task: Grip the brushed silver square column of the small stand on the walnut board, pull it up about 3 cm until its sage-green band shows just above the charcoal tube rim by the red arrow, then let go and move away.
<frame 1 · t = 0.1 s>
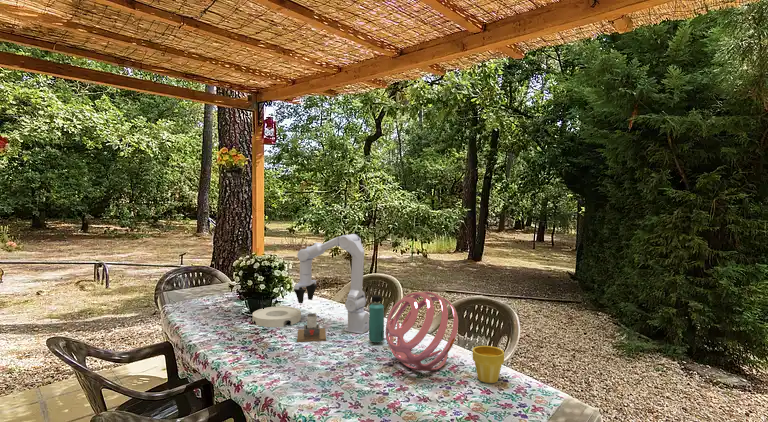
hand: (305, 301, 203), 10 cm above the table, tool pointing down, fingers open, 7 cm apart
ashtray: (276, 321, 206), on the table
silver column: (311, 324, 182), point 5 cm above the table, slide at 0.0 cm
stand base: (311, 336, 183), on the table
beverage bottle: (376, 343, 175), on the table
spiral basket: (418, 366, 152), on the table
plant pot: (487, 379, 141), on the table
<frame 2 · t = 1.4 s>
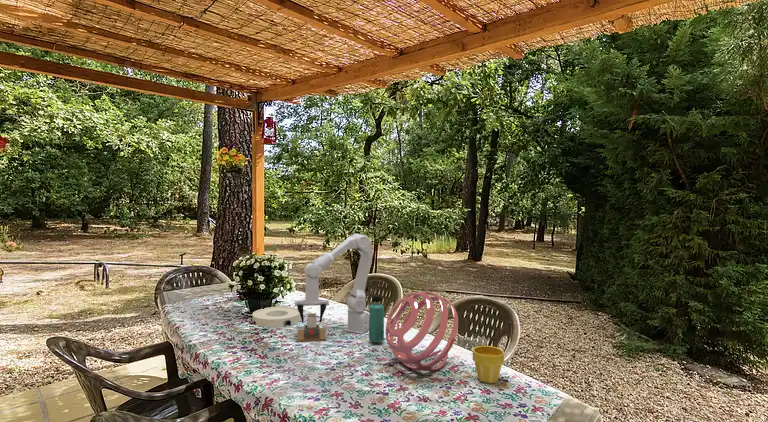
hand: (311, 321, 182), 6 cm above the table, tool pointing down, fingers open, 7 cm apart
nothing on the table moved.
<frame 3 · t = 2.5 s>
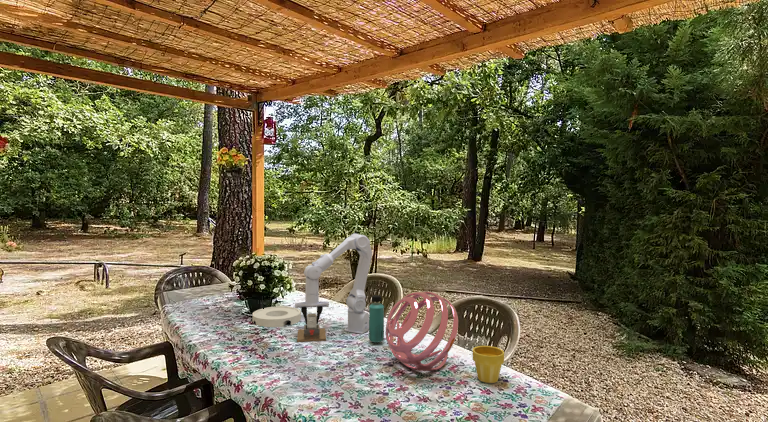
hand: (311, 323, 182), 5 cm above the table, tool pointing down, fingers closed on silver column, 4 cm apart
silver column: (311, 324, 182), point 5 cm above the table, slide at 0.0 cm, touching gripper
everything else where it was.
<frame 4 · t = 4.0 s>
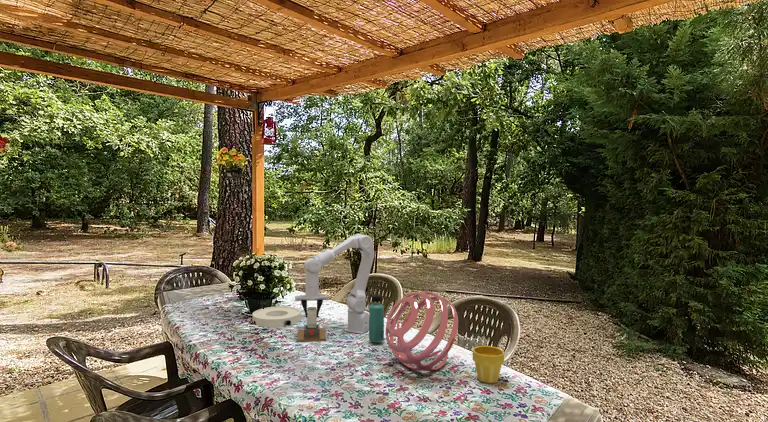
hand: (311, 317, 182), 8 cm above the table, tool pointing down, fingers closed on silver column, 4 cm apart
silver column: (311, 317, 182), point 8 cm above the table, slide at 3.0 cm, touching gripper
everything else where it was.
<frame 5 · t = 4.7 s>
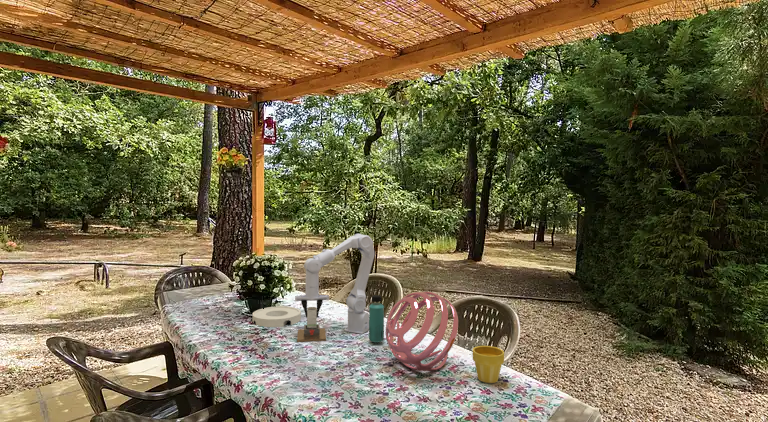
hand: (311, 317, 182), 8 cm above the table, tool pointing down, fingers closed on silver column, 4 cm apart
silver column: (311, 317, 182), point 8 cm above the table, slide at 3.0 cm, touching gripper
everything else where it was.
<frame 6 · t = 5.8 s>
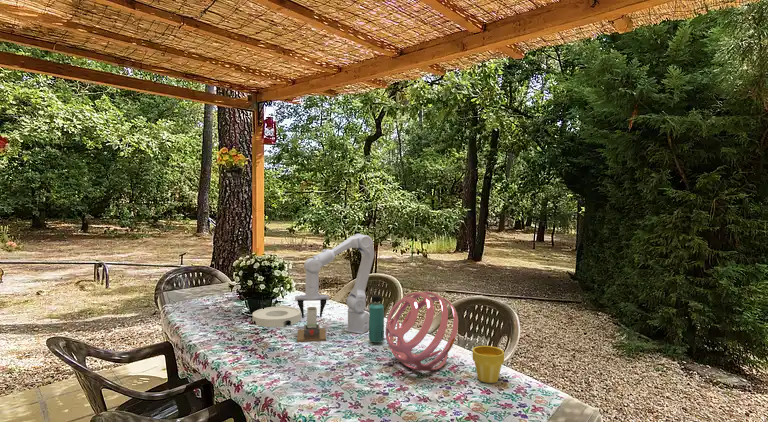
hand: (311, 317, 182), 8 cm above the table, tool pointing down, fingers open, 7 cm apart
silver column: (311, 317, 182), point 8 cm above the table, slide at 3.0 cm
everything else where it was.
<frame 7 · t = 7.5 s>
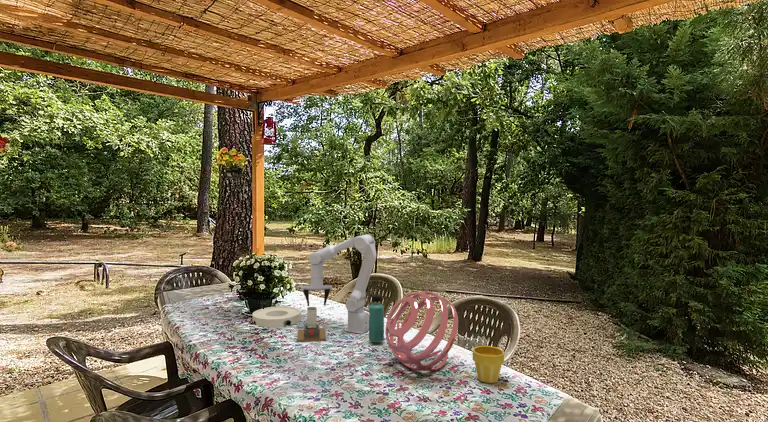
hand: (316, 305, 198), 9 cm above the table, tool pointing down, fingers open, 7 cm apart
nothing on the table moved.
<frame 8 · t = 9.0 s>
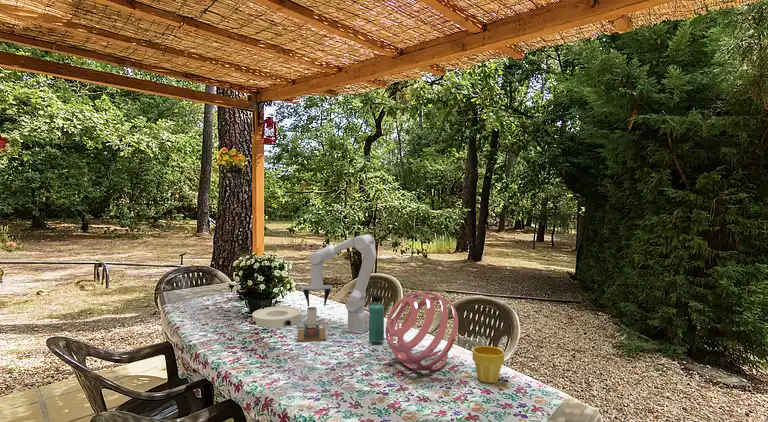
hand: (316, 305, 198), 9 cm above the table, tool pointing down, fingers open, 7 cm apart
nothing on the table moved.
at the end: silver column slide at 3.0 cm; the gripper is holding nothing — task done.
